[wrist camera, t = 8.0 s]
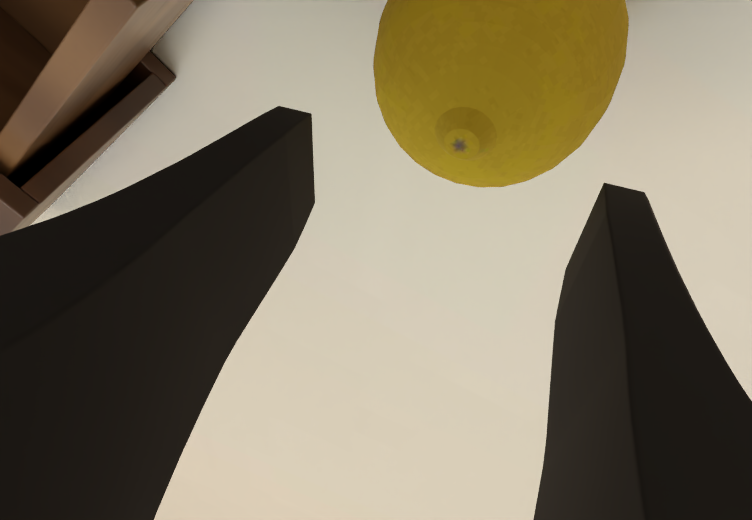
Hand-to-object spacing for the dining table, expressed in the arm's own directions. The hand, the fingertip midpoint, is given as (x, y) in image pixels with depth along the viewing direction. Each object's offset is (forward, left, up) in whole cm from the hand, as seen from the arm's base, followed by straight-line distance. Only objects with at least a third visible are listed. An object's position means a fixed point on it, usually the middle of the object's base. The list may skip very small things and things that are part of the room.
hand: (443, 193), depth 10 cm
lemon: (0, 0, -10) cm, 10 cm away
